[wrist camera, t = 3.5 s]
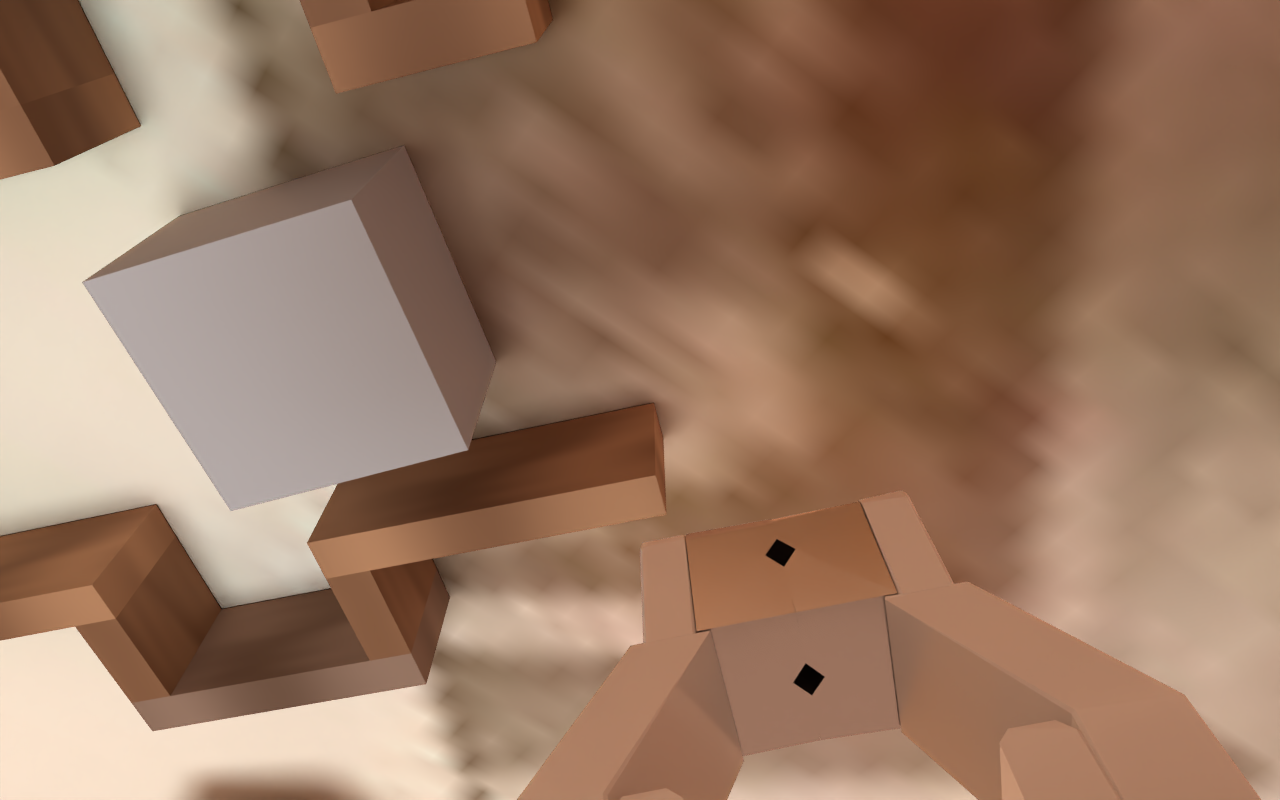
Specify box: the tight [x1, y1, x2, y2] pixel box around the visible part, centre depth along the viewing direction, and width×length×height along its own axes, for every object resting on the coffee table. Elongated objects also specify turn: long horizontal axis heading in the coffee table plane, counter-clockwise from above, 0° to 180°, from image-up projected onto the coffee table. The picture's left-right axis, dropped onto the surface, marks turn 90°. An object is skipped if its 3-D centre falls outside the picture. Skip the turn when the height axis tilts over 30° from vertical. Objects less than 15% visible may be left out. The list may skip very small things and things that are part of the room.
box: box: [0, 0, 666, 731], centre depth 21 cm, size 24×21×5 cm
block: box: [82, 145, 496, 511], centre depth 21 cm, size 6×6×4 cm
